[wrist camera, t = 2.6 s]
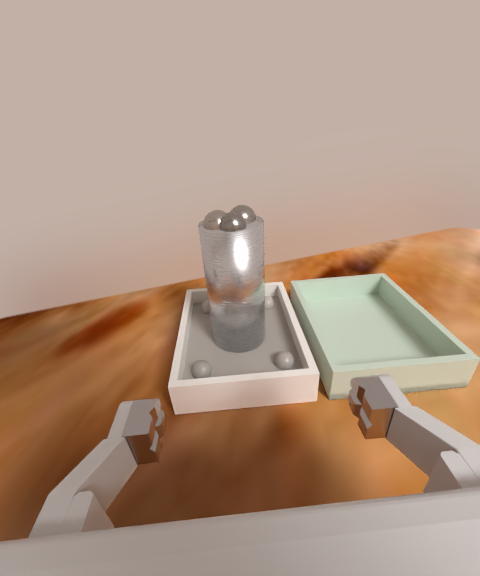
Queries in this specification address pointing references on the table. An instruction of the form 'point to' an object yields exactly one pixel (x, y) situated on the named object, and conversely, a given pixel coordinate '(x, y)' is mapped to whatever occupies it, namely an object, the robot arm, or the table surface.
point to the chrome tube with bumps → (235, 277)
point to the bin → (377, 335)
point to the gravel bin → (241, 361)
